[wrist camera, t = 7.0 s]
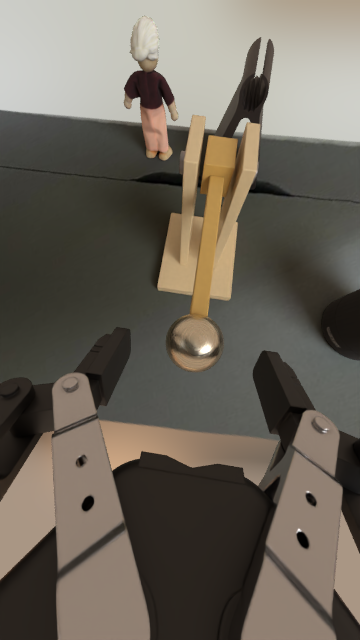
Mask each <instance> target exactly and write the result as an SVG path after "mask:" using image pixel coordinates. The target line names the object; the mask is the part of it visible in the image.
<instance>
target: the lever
mask: <svg viewBox="0 0 360 640" xmlns="http://www.w3.org/2000/svg"><path fill="white" fill-rule="evenodd" d="M237 142H238V139H233V138H225V137H218V136H211V135H209V136H208V143H207V149H206V156H205V162H204V169H203V176H202V183H201V190H200V193H201V194H207V197H206V203H205V210H204V217H203V224H202V231H201V238H200V245H199V252H198V259H197V266H196V273H195V280H194V286H193V293H192V300H191V307H190V314H189V315H185V316H183V317H181V318H179V319H177V320H176V321H175V322H174V323H173V324H172V325H171V327H170V328H169V330H168V333H167V336H166V350H167V353H168V355H169V357H170V359H171V360H172V362H173V363H174V364H175V365H176V366H178V367H179V368H181V369H183V370H185V371H188V372H202V371H205V370H208V369H210V368H211V367H213V366H214V365H215V364H216V363H217V362H218V360H219V359H220V357H221V355H222V352H223V348H224V338H223V334H222V332H221V330H220V328H219V326H218V325H217V324H216V323H215V322H214V321H213V320H212V319H210V318H209V317H207V316H208V307H209V299H210V291H211V283H212V275H213V266H214V258H215V250H216V242H217V234H218V225H219V217H220V209H221V201H222V197H226V195H227V192H228V188H229V185H230V182H231V179H232V175H233V172H234V169H235V160H236V151H237Z"/></svg>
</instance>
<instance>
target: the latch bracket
mask: <svg viewBox="0 0 360 640" xmlns="http://www.w3.org/2000/svg"><path fill="white" fill-rule="evenodd" d="M205 120H206V118H205V117H204V116H198V115H193V116H192V120H191V125H190V130H189V136H188V141H187V146H186V151H181V155H180V164H179V173H180V174H183V193H182V214H176V213H171V217H170V223H169V228H168V233H167V238H166V244H165V249H164V254H163V259H162V264H161V270H160V275H159V280H158V285H157V288H158V290H160V291H167V292H173V293H180V294H187V295H192V293H193V286H194V280H195V273H196V266H197V259H198V252H199V245H200V238H201V231H202V224H203V217H196V216H194V210H195V202H196V193H197V185H198V177H199V169H200V161H201V152H202V144H203V136H204V128H205ZM259 135H260V124H256V123H247V124H246V127H245V131H244V134H243V137H242V141H241V144H240V147H239V151H238V154H237V158H236V161H235V169H234V172H233V175H232V179H231V182H230V185H229V188H228V192H227V195H226V197H225V198H224V201H223V205H222V208H221V212H220V217H219V225H218V234H217V242H216V250H215V258H214V266H213V275H212V283H211V291H210V298H213V299H220V300H227V301H228V300H229V299H230V298H231V288H232V277H233V267H234V256H235V246H236V235H237V225H238V223H237V222H236V219H237V217H238V215H239V212H240V210H241V208H242V205H243V203H244V201H245V198H246V196H247V193H248V191H249V189H250V186H251V184H253V182H254V180H255V178H256V175H257V172H258V168H259V162H258V149H259Z"/></svg>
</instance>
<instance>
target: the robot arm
mask: <svg viewBox="0 0 360 640" xmlns="http://www.w3.org/2000/svg"><path fill="white" fill-rule="evenodd" d="M130 351H131V339H130V329H126V328H120V327H116V329H115V330H114V331H113V333H112V334H111V335H109V334H106V335H104V336H103V337H101V338H100V339H98V341H97V342H96V343H95V345H94V346H93V347H92V349H91V350H90V352H89V353H88V354H87V355H86V357H85V358H84V359H83V361H82V362H81V363H80V365H79V366H78V367H77V368H76V370H75V371H74V372H73V373H69V374H66V375H64V376H62V377H61V378H59V379H58V380H57V381H56V382H55V383H49V384H40V385H32V383H31V381H30V380H29V379H27V378H13V379H10V380H7V381H5V382H3V383H1V384H0V501H1V500H2V498H3V496H4V495H5V493H6V492H7V490H8V488H9V487H10V485H11V484H12V482H13V480H14V479H15V477H16V476H17V474H18V472H19V471H20V469H21V468H22V466H23V464H24V463H25V461H26V460H27V458H28V457H29V455H30V453H31V452H32V450H33V449H34V447H35V445H36V444H37V442H38V440H39V439H40V437H41V436H42V434H43V433H45V432H50V431H54V434H52V460H53V481H54V499H55V518H56V526H55V527H54V528H53V529H52V530H51V531H50V532H49V533H48V534H47V535H46V536H45V537H44V538H43V539H42V540H41V541H40V542H39V543H38V544H37V545H36V546H35V547H34V548H33V549H32V550H31V551H29V553H27V554H26V555H25V557H24V558H22V559H21V560H20V561H19V562H18V563H17V564H16V565H15V566H14V567H13V568H12V569H11V570H10V571H9V572H8V573H7V574H6V575H5V576H4V577H3V578H2V579H1V580H0V640H360V624H359V623H358V622H357V620H356V619H355V617H354V616H353V615H352V613H351V612H350V610H349V609H348V608H347V606H346V605H345V603H344V602H343V600H342V599H341V598H340V596H339V595H338V593H337V592H336V591H335V589H334V581H335V570H336V560H337V548H338V538H339V527H340V515H341V510H342V512H343V515H344V517H345V520H346V522H347V524H348V527H349V529H350V532H351V534H352V536H353V539H354V541H355V543H356V546H357V548H358V551H359V553H360V438H359V439H358V438H355V437H353V436H351V435H348V434H346V433H344V432H342V431H339V430H338V429H337V427H336V426H335V424H334V423H333V422H332V421H331V420H330V419H329V418H328V417H326V416H325V415H324V414H322V413H320V412H318V411H316V410H315V408H314V406H313V405H312V403H311V401H310V399H309V397H308V396H307V394H306V392H305V390H304V389H303V387H302V386H301V383H300V381H299V380H298V379H297V376H296V374H295V373H294V371H293V369H292V368H291V367H290V366H289V365H288V364H287V363H286V362H283V361H282V359H281V358H280V356H279V354H278V353H277V352H271V351H265V350H264V351H262V352H261V354H260V356H259V358H258V361H257V363H256V365H255V367H254V369H253V379H254V383H255V386H256V389H257V393H258V396H259V399H260V402H261V406H262V409H263V412H264V415H265V419H266V422H267V425H268V429H269V432H270V433H271V434H277V435H279V436H280V439H281V440H280V441H279V443H278V445H277V447H276V450H275V452H274V454H273V457H272V459H271V462H270V464H269V466H268V469H267V471H266V473H265V475H264V477H263V479H262V480H261V482H260V484H259V486H257V485H256V484H254V483H253V482H251V481H250V480H249V479H247V478H245V477H244V473H243V468H239V467H234V466H228V465H221V464H214V465H208V466H201V467H195V468H192V467H189V466H187V465H185V464H183V463H181V462H178V461H177V460H175V459H173V458H170V457H168V456H167V455H161V454H154V453H149V452H143V451H142V452H141V456H140V459H136V460H132V461H129V462H127V463H124V464H122V465H120V466H119V467H117V468H116V469H114V470H113V471H112V469H111V465H110V461H109V457H108V454H107V449H106V446H105V442H104V438H103V434H102V430H101V426H100V422H99V418H98V415H97V412H96V411H97V409H98V407H99V405H102V406H107V404H108V401H109V399H110V397H111V395H112V393H113V391H114V389H115V386H116V384H117V382H118V380H119V378H120V376H121V374H122V371H123V369H124V367H125V365H126V363H127V361H128V359H129V356H130Z"/></svg>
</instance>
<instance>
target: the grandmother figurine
mask: <svg viewBox="0 0 360 640" xmlns="http://www.w3.org/2000/svg"><path fill="white" fill-rule="evenodd" d="M158 49H159V37H158V30H157V26H156V25H155V24H154V21H153V20H152V19H151V18H148V17H146V16H142V17H141V18H139V19H138V20H137V22H136V24H135V25H134V27H133V32H132V37H131V51H130V53H131V54H132V57H133V58H134V59H135V60H136V61H138V63H139V66H140V67H141V68H142V69H143V70H142V71H136V72H134V73H133V74H132V75H131V76H130V78H129V79H128V81H127V83H126V85H125V87H124V90H125V100H124V105H125V107H126V108H127V109H130V108H131V102H132V100H133V99H134V98H138V97H140V110H141V120H142V128H143V133H144V138H145V144H146V147H147V149H146V156H147V157H148V158H154V157H155V156H156V154H157V152H158V150H159V151H160V153H159V158H160V159H161V160H167V159H168V158H169V157H170V156H171V155H172V149H171V147H170V146H168V136H167V126H166V116H165V110H164V106H163V101H162V97H163V99H164V101H165V103H166V104H167V106H168V109H169V112H170V113H171V118H172V120H173V121H176V120H177V119H178V113H177V111H176V105H175V102H174V96H173V94H172V92H171V89H170V87H169V85H168V84H167V82H166V80H165V78H164V77H163V76H162V75H161V74H160V73H158V72H156V71H155V70H154V69H155V68H156V65H157V62H158Z"/></svg>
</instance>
